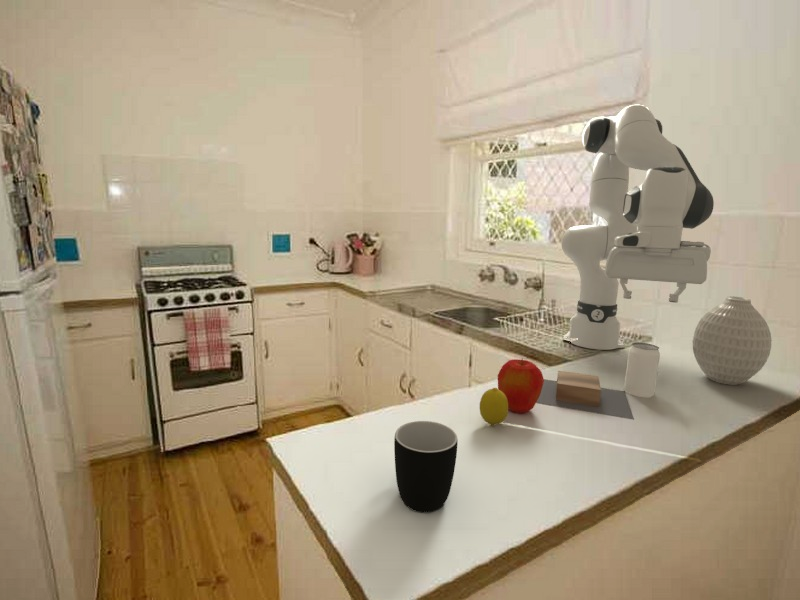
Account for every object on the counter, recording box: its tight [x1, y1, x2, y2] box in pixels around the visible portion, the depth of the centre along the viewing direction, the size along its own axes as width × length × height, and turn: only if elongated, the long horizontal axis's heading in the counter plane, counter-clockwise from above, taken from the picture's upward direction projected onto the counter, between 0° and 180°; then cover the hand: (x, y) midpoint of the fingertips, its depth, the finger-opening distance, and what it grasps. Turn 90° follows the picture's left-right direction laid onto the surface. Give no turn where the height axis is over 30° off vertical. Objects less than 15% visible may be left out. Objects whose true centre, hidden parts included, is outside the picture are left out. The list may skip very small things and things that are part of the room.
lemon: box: [479, 387, 509, 427], centre depth 86 cm, size 6×6×8 cm
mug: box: [393, 420, 458, 513], centre depth 64 cm, size 12×9×10 cm
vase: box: [692, 295, 773, 386], centre depth 113 cm, size 16×16×22 cm
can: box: [623, 341, 661, 398], centre depth 104 cm, size 6×6×12 cm
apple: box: [497, 357, 545, 414], centre depth 92 cm, size 9×9×12 cm
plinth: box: [556, 370, 602, 407], centre depth 101 cm, size 9×9×4 cm
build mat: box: [536, 378, 635, 420], centre depth 101 cm, size 16×22×1 cm
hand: (649, 300), depth 101 cm, fingers open, 8 cm apart
